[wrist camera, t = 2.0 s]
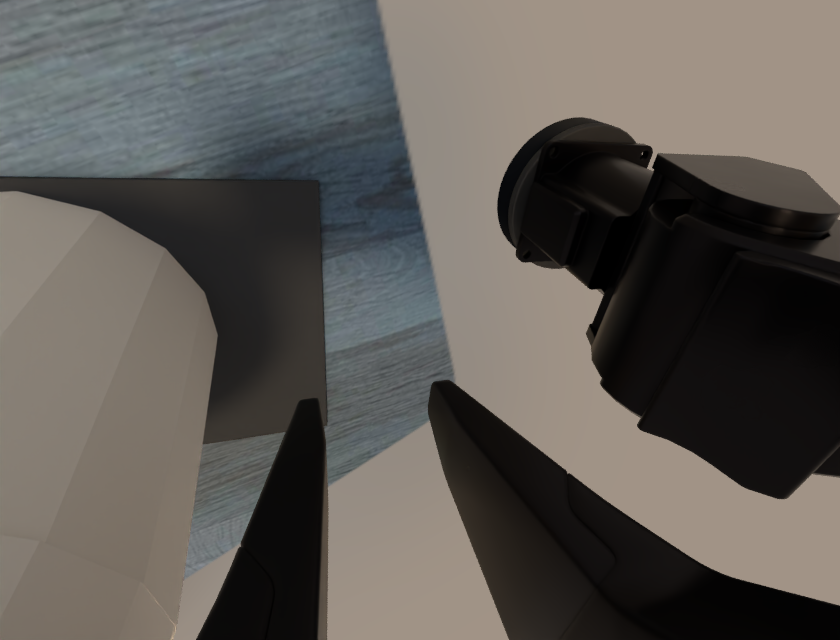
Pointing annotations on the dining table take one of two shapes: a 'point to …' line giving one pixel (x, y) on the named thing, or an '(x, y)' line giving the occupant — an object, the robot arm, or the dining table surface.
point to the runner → (232, 281)
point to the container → (96, 424)
